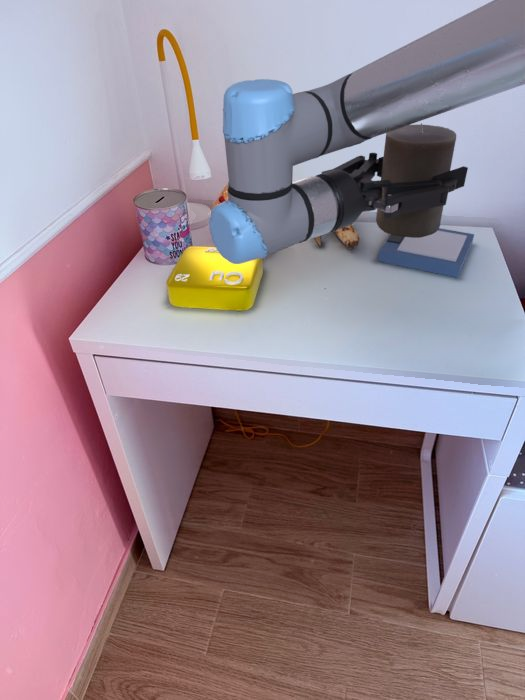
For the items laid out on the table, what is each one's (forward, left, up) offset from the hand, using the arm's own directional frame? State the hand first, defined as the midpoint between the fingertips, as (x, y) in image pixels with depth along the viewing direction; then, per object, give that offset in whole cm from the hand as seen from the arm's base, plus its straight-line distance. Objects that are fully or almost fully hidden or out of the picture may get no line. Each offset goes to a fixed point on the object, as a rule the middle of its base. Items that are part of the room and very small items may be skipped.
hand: (435, 166), depth 78 cm
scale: (+1, -15, -22) cm, 27 cm away
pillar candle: (+2, +4, -8) cm, 9 cm away
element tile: (+32, +13, -22) cm, 41 cm away
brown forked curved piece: (+20, -15, -22) cm, 34 cm away
